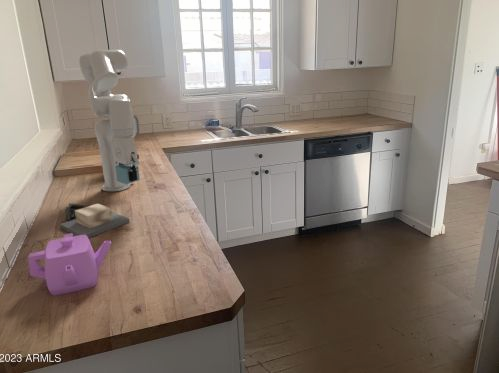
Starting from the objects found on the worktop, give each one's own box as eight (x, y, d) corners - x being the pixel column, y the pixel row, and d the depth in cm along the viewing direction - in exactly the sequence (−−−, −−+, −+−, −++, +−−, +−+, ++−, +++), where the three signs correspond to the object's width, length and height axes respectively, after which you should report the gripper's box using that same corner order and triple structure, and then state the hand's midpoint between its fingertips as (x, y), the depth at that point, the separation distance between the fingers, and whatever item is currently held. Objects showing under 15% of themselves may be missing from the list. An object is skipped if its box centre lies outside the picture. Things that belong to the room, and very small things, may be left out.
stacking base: (105, 212, 155) (103, 198, 153) (129, 222, 145) (127, 207, 143) (60, 227, 142) (57, 212, 140) (83, 239, 132) (80, 223, 130)
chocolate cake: (92, 211, 158) (65, 196, 151) (100, 209, 154) (73, 194, 146) (81, 232, 154) (53, 218, 147) (89, 232, 149) (61, 217, 142)
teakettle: (73, 260, 119) (65, 222, 115) (119, 269, 113) (113, 230, 109) (24, 291, 104) (14, 249, 100) (75, 303, 98) (66, 259, 94)
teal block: (130, 177, 155) (128, 162, 153) (139, 180, 152) (138, 165, 150) (117, 181, 151) (115, 166, 149) (126, 184, 148) (124, 169, 145)
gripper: (100, 131, 147) (107, 176, 154) (127, 137, 137) (133, 186, 143) (118, 128, 153) (123, 172, 159) (145, 133, 142) (150, 180, 149)
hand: (128, 178), depth 151 cm, fingers closed on teal block, 6 cm apart
